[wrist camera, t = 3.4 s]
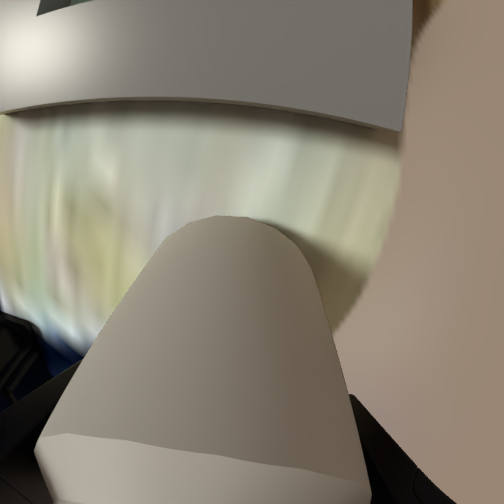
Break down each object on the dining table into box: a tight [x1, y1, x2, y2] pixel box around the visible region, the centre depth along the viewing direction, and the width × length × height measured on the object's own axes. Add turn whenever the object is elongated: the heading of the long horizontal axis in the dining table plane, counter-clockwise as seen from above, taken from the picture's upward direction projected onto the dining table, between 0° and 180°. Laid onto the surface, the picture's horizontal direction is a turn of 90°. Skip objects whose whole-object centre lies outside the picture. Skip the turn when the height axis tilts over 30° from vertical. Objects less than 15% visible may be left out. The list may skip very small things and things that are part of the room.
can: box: [34, 216, 372, 504], centre depth 9 cm, size 8×8×12 cm
